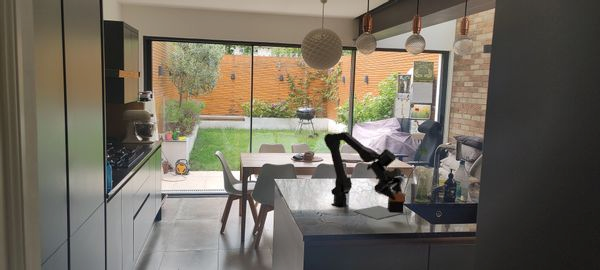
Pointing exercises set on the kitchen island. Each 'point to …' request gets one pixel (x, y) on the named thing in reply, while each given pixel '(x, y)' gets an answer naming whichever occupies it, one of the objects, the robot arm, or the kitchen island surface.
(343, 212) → the kitchen island surface
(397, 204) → the battery
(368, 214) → the mat
